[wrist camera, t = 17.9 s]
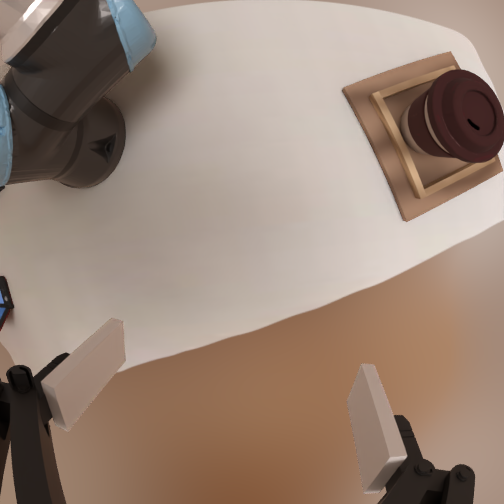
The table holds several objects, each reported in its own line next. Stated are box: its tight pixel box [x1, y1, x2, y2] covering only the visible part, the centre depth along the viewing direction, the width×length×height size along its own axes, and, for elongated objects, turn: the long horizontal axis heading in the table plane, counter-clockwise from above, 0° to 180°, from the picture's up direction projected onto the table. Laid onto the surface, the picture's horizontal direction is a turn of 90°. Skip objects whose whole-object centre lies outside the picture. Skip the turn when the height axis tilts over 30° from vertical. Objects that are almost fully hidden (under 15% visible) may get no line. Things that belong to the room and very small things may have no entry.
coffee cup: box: [400, 69, 504, 163], centre depth 28 cm, size 10×10×15 cm
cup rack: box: [342, 51, 503, 222], centre depth 35 cm, size 20×20×4 cm
